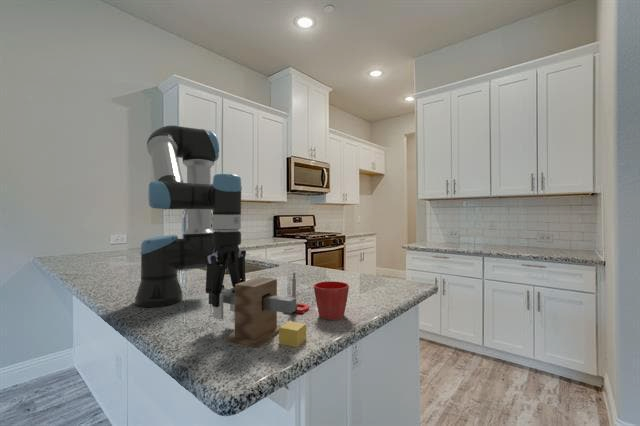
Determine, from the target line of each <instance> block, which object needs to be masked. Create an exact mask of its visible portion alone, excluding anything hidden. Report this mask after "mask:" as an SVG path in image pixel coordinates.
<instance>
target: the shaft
mask: <svg viewBox="0 0 640 426" xmlns="http://www.w3.org/2000/svg"><path fill="white" fill-rule="evenodd" d="M216 290H217V289H216ZM221 294H223V304H228V305H230V304H234V305H235V290H233V289H230V288H225V285H224V284H223V285H222V290H221ZM291 297H292V296H291ZM291 297H290V296H282V295H278V294H277V295H269V294H266V295H263V296H262V309H265V310H271V311H277V313H283V314H284V313H285V314H293V313H292V312H294V311H296V303H297V297H296V298H291ZM208 305H212V294H209V293H208Z"/></svg>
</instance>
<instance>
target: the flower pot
mask: <svg viewBox="0 0 640 426" xmlns="http://www.w3.org/2000/svg"><path fill="white" fill-rule="evenodd" d="M349 289H350V285H349V283H348V282H347V283H346V282H343V281H334V280H333V281H329V280H328V281H320V282H317V283H314V285H313V291H314V295H315V302H316V307H317V311H318V316H319V318H321V319H323V320H331V321H335V320H336V321H337V320H340V319H342V318H344V316H345V312H346V307H347V301H348V296H349Z"/></svg>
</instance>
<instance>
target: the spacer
mask: <svg viewBox="0 0 640 426" xmlns="http://www.w3.org/2000/svg"><path fill="white" fill-rule="evenodd" d="M305 340H307V324H306V322H305V323H304V322H303V323H302V322H298V321H290V320H288V321H287V322H285V323H284V324H282V326H281V327H279V333H278V344H279V343H280V344H281V345H285V346H290V347H295V348H298V347H299V346H300V345H301V344H302V343H303V342H305Z"/></svg>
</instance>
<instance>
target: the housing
mask: <svg viewBox="0 0 640 426" xmlns="http://www.w3.org/2000/svg"><path fill="white" fill-rule="evenodd" d="M250 279H251V280H248V281H244V282H241V283H238V284H235V312H234V333H232V334H229V336H227V337H225V342H229V343H234V344H238V345H242V346H246V347H251V348H257V347H259V346H260V345H262V344H263V343H265V342H266V341H268V340H270V339H271V338H273V337H274V336H276V335H277V334H279V327H281V326H282V325H283V324H282V325H280V324H278V318H277V317H278V312H277V311H271V310H265V309H262V296H263V295H266V294H269V295H277V296H278V279H277V278H272V277H262V276H257V277H254V278H250Z"/></svg>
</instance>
